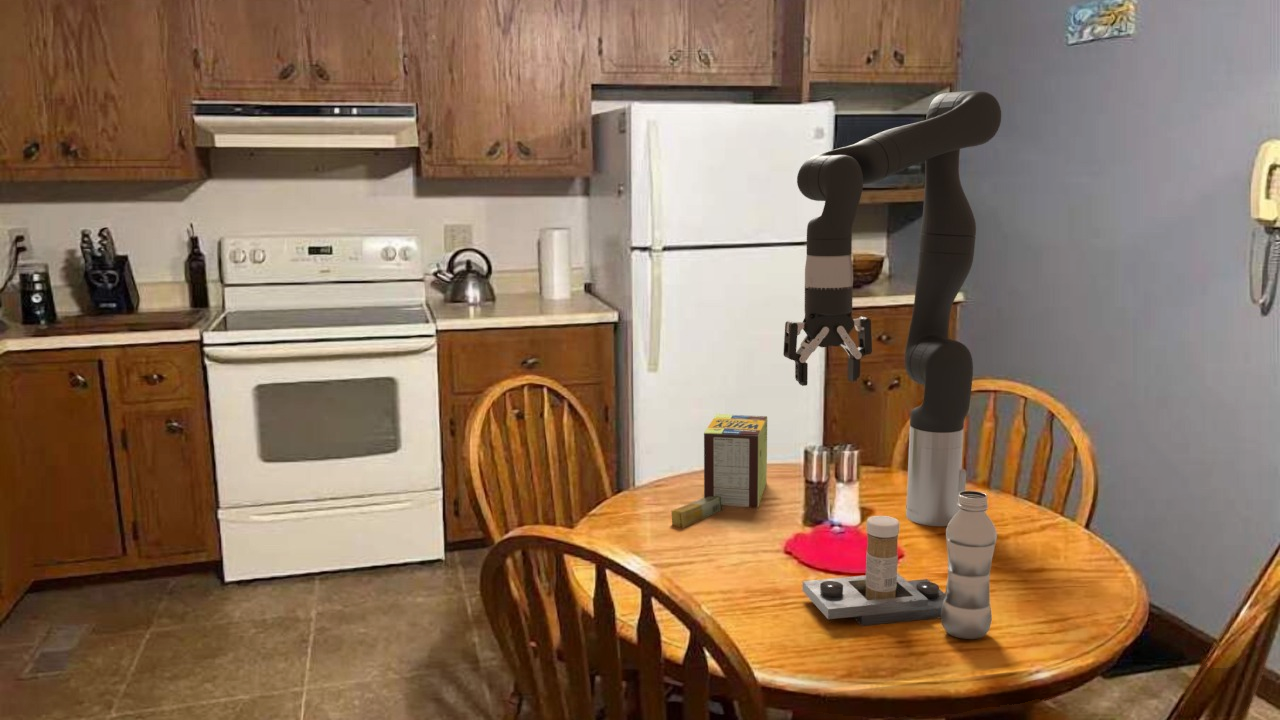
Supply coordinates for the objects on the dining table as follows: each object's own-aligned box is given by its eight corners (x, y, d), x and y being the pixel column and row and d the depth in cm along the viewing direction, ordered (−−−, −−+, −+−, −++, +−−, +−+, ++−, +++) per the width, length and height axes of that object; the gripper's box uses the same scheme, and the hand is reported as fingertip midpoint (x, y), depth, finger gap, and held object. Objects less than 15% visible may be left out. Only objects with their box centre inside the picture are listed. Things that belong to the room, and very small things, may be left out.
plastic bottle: (932, 625, 140) (938, 488, 136) (979, 623, 140) (986, 486, 137) (950, 646, 134) (957, 503, 130) (999, 644, 134) (1007, 501, 130)
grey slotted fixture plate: (896, 581, 151) (897, 565, 151) (927, 609, 141) (928, 591, 141) (802, 590, 148) (802, 573, 148) (828, 619, 139) (828, 601, 138)
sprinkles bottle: (887, 599, 148) (890, 513, 146) (901, 612, 144) (905, 523, 142) (858, 602, 147) (861, 515, 145) (872, 615, 143) (875, 526, 141)
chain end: (926, 588, 152) (927, 571, 152) (959, 615, 143) (960, 598, 142) (833, 597, 149) (834, 580, 149) (861, 625, 140) (862, 607, 139)
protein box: (766, 490, 201) (768, 415, 198) (758, 515, 186) (759, 434, 183) (715, 487, 203) (715, 413, 200) (702, 511, 188) (702, 432, 186)
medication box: (711, 515, 187) (710, 494, 186) (723, 517, 185) (722, 496, 185) (671, 531, 178) (670, 509, 177) (684, 533, 176) (682, 511, 176)
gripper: (860, 279, 164) (858, 375, 167) (777, 283, 161) (777, 381, 164) (880, 283, 157) (878, 384, 160) (795, 287, 154) (794, 390, 157)
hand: (827, 382), depth 162 cm, fingers open, 8 cm apart
